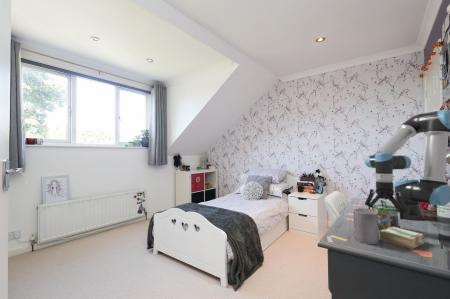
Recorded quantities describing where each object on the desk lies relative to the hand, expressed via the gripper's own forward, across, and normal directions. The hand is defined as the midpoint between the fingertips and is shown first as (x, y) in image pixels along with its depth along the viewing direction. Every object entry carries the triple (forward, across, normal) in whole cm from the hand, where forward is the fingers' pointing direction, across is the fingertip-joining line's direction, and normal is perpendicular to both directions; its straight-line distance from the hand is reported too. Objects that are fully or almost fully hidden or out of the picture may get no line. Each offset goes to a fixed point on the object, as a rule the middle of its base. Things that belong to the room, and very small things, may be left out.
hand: (385, 222), depth 116 cm
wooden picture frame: (+4, +12, -12) cm, 17 cm away
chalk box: (+4, 0, 0) cm, 4 cm away
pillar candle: (+4, +4, -24) cm, 25 cm away
